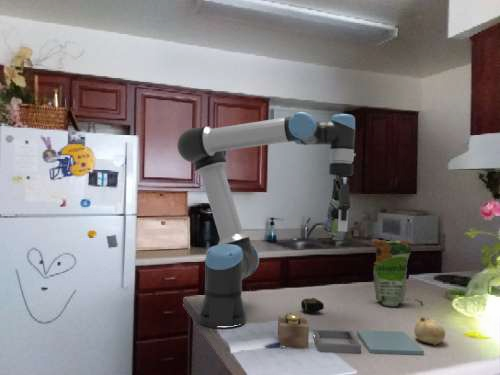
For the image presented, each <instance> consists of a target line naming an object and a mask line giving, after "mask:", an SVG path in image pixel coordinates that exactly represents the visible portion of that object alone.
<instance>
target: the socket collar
mask: <svg viewBox="0 0 500 375" xmlns="http://www.w3.org/2000/svg"><path fill="white" fill-rule="evenodd" d="M312 331H313V332H312V334H313V333H314V335H315V339H314V343H315V344H316V345H315V346H316V348H317V350H318V352H319V351H320V352H319V353H323V352H324V353H338V354H339V353H340V354H341V353H343V354H362V345H361V344H360V342H359V340H358V339H357V337H356V335H355V334H354V333H353V331H352V330H347V329H346V330H342V329H313V330H312ZM322 338H323V339H345V340H346V339H347V340H349V342H350V343H334V342H333V343H332V342H331V343H330V342H323V340H322Z"/></svg>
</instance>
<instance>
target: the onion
mask: <svg viewBox="0 0 500 375" xmlns="http://www.w3.org/2000/svg"><path fill="white" fill-rule="evenodd" d="M413 331H414V335H415V337H416V338H417V339H418V340H419V341H420V342H422V343H427V344H430V345H433V346H437V345H438V344H441V343H442V342H443V341H444V340H445V337H446V331H445V328H444V327H443V325H442V324H441V323H440V322H438V321H437V320H434V319H432V318H430V317H429V316H421V317H420V318H419V320H418V321H417V322H416V323H415V326H414V330H413Z"/></svg>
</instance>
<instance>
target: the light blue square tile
mask: <svg viewBox="0 0 500 375" xmlns="http://www.w3.org/2000/svg"><path fill="white" fill-rule="evenodd" d="M356 335H357V336H358V337H359V339H360V340H361V342H362V344H363V346H365V348H366V350H367V351H368V353H369V354H383V355H384V354H386V355H387V354H389V355H410V356H411V355H412V356H414V355H416V356H417V355H419V356H424V353H425V351H424V350H423V349H422V348H421V347H420V346H419V345H418V344H417V343H416V342H415V340H413V339H412V338H411V337H410V336H409V335H408V334H407V333H406V332H405V331H399V330H398V331H395V330H394V331H393V330H368V329H367V330H363V329H357V330H356Z"/></svg>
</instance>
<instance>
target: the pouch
mask: <svg viewBox="0 0 500 375" xmlns="http://www.w3.org/2000/svg"><path fill="white" fill-rule="evenodd" d="M372 242H373V244H374V247H375V250H376V252H375V257H376V260H375V261H374V263H373V271H372V274H373V284H374V291H375V299H376V300H377V301H379V302H382V306H385V307H398V305H399V304H400V303H403V302H404V301H405V297H406V296H405V295H406V291H407V286H406V284H407V281H406V280H407V272H408V267H407V266H408V262H409V261H408V260H409V258H410V255H411V253H412V247H411V246H412V245H411V244H412V242H410V241H409V240H393V239H392V238H390V239H389V241H388V240H381V239H379V238H374V239H373V238H372Z"/></svg>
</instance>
